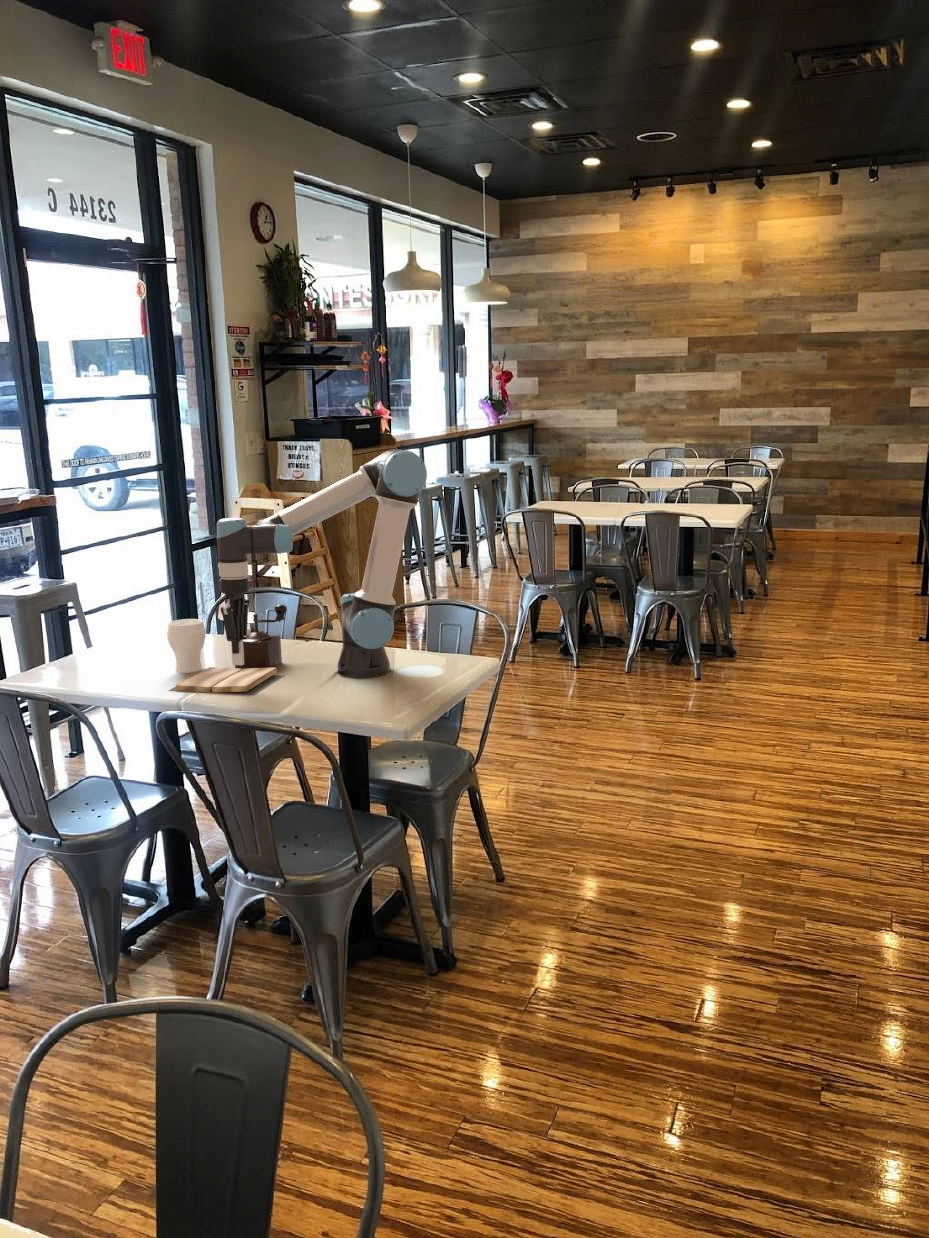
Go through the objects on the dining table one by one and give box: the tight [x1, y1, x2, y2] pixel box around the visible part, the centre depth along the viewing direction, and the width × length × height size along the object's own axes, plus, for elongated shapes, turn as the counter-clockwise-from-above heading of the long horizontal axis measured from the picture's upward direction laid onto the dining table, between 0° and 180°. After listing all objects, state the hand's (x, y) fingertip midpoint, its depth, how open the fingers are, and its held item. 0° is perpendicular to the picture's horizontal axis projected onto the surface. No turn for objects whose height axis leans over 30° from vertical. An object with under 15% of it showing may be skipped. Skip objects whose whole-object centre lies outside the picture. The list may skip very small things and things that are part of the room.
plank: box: [212, 667, 278, 692], centre depth 288 cm, size 10×20×2 cm, turn 167°
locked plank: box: [175, 666, 242, 693], centre depth 290 cm, size 10×20×2 cm, turn 167°
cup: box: [166, 618, 206, 674], centre depth 303 cm, size 11×11×15 cm
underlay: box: [167, 674, 286, 696], centre depth 289 cm, size 25×21×1 cm
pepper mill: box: [234, 603, 288, 669], centre depth 308 cm, size 16×11×18 cm
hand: (238, 664), depth 280 cm, fingers closed
